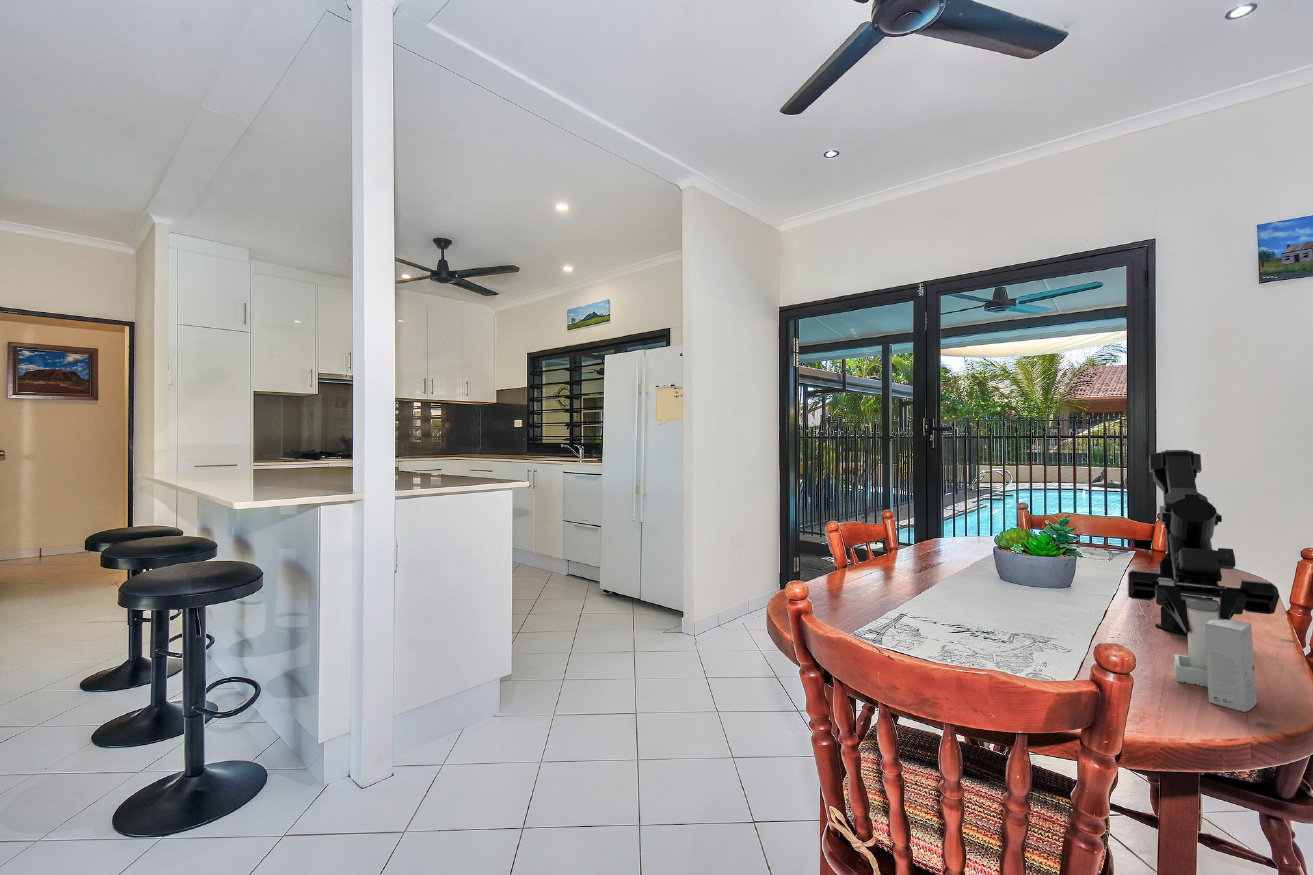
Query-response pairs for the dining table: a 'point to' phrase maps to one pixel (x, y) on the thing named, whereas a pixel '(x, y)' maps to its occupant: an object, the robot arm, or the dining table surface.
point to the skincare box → (1230, 664)
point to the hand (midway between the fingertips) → (1204, 634)
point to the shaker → (1199, 628)
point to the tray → (1189, 672)
